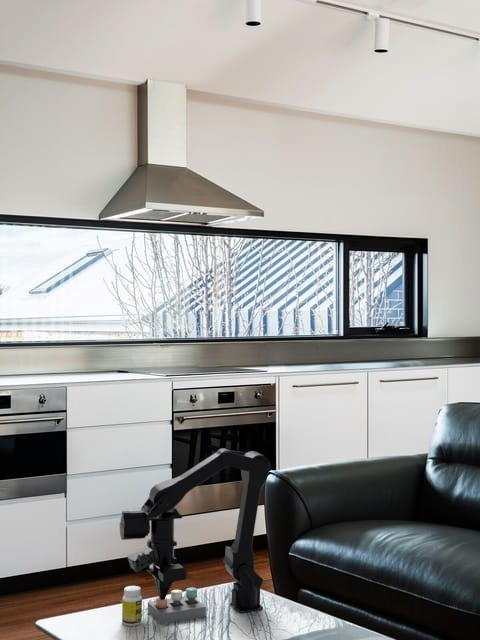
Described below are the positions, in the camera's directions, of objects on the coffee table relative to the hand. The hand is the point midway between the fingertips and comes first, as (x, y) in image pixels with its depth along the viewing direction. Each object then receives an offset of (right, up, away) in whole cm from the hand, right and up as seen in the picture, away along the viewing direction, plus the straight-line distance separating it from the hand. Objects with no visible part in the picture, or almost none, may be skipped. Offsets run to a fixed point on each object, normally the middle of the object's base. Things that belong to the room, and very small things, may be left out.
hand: (162, 599), depth 212 cm
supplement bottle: (-7, -5, -4) cm, 9 cm away
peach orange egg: (0, -4, 0) cm, 4 cm away
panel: (+3, -4, +2) cm, 6 cm away
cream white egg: (+3, -3, +2) cm, 5 cm away
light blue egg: (+7, -3, +4) cm, 8 cm away
